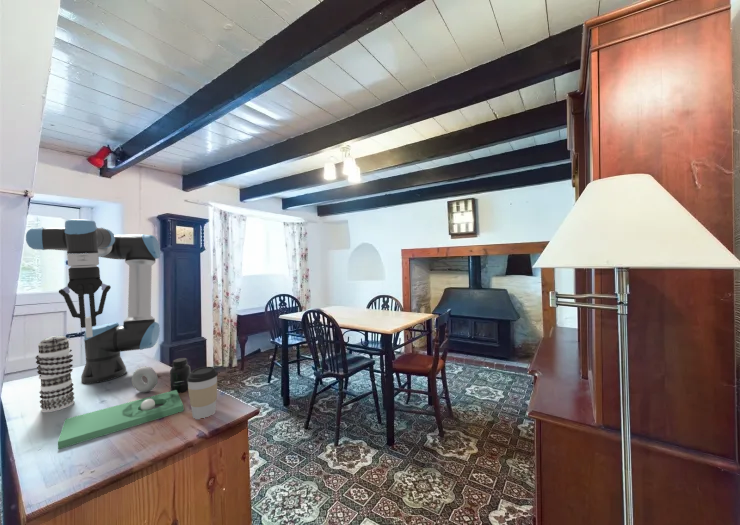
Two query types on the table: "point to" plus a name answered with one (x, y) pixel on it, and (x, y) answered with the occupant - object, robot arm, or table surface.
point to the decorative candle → (55, 373)
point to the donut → (138, 381)
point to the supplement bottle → (179, 375)
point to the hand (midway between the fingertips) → (89, 336)
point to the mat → (117, 418)
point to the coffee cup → (202, 391)
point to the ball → (147, 404)
